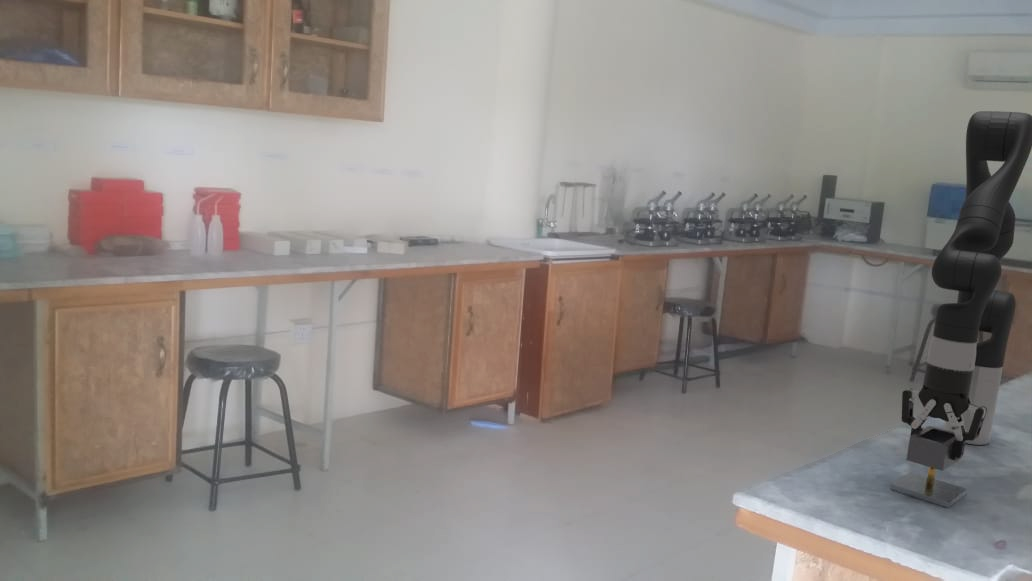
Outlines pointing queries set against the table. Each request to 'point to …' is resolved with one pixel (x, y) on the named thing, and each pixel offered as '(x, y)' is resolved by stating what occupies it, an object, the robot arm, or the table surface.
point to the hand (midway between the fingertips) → (934, 453)
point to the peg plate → (929, 488)
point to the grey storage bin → (932, 448)
